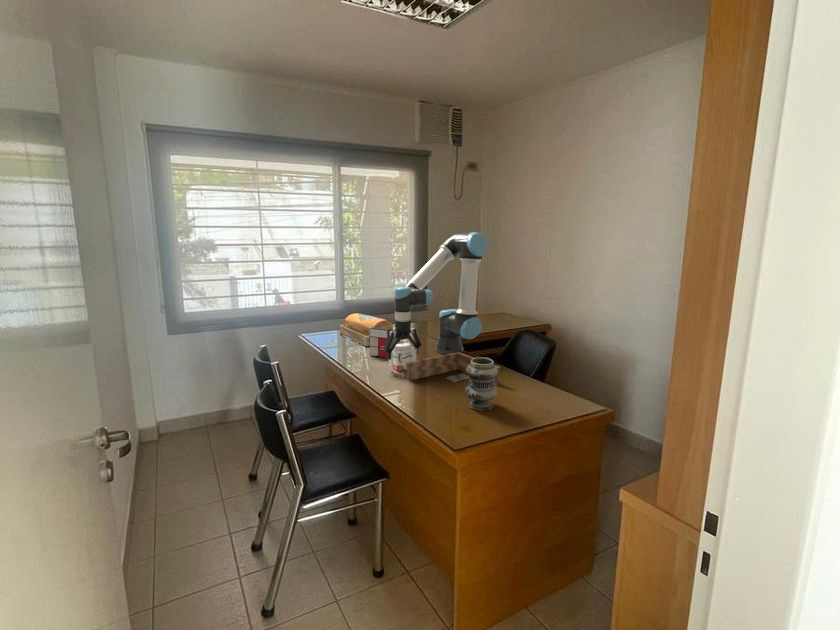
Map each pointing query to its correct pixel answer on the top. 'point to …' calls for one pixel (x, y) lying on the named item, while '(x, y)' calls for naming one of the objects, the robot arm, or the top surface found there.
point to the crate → (356, 336)
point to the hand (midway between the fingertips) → (402, 363)
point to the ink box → (402, 356)
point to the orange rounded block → (365, 323)
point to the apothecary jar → (481, 383)
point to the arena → (443, 367)
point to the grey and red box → (378, 341)
